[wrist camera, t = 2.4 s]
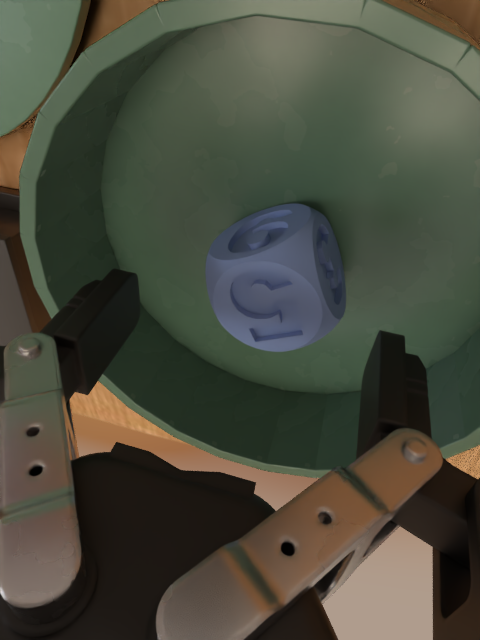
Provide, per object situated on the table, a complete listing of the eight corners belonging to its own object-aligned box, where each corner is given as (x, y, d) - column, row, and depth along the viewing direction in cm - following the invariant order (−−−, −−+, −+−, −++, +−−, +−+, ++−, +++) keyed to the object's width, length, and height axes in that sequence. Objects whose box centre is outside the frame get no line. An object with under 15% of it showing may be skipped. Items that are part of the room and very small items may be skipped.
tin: (684, 16, 11) (816, 45, 8) (434, 432, 23) (440, 523, 19) (57, -54, 14) (-62, -56, 10) (115, 349, 25) (68, 413, 22)
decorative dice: (261, 299, 20) (237, 359, 17) (225, 219, 18) (190, 272, 15) (350, 281, 18) (340, 346, 15) (321, 191, 16) (303, 244, 13)
